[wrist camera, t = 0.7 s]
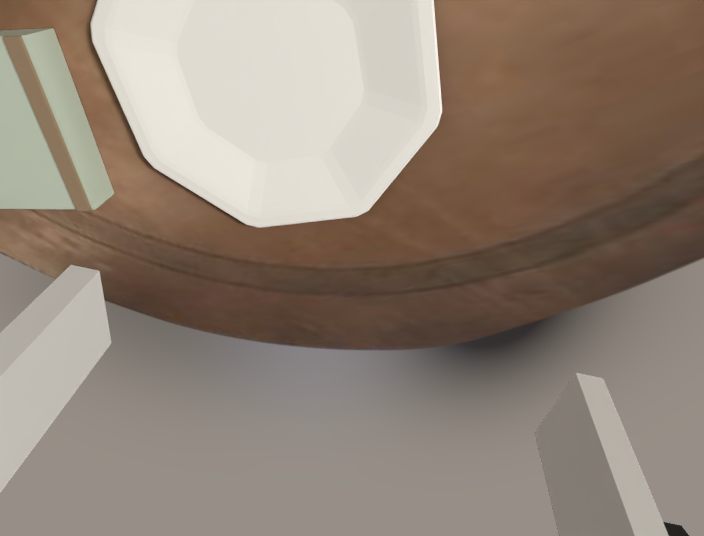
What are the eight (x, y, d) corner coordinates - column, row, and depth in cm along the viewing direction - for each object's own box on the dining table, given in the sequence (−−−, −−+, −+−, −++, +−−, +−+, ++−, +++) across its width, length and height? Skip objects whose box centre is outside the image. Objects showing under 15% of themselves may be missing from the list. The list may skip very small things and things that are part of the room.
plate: (185, 228, 43) (178, 237, 42) (46, -90, 30) (31, -91, 29) (448, 198, 39) (449, 207, 37) (417, -192, 26) (418, -199, 24)
